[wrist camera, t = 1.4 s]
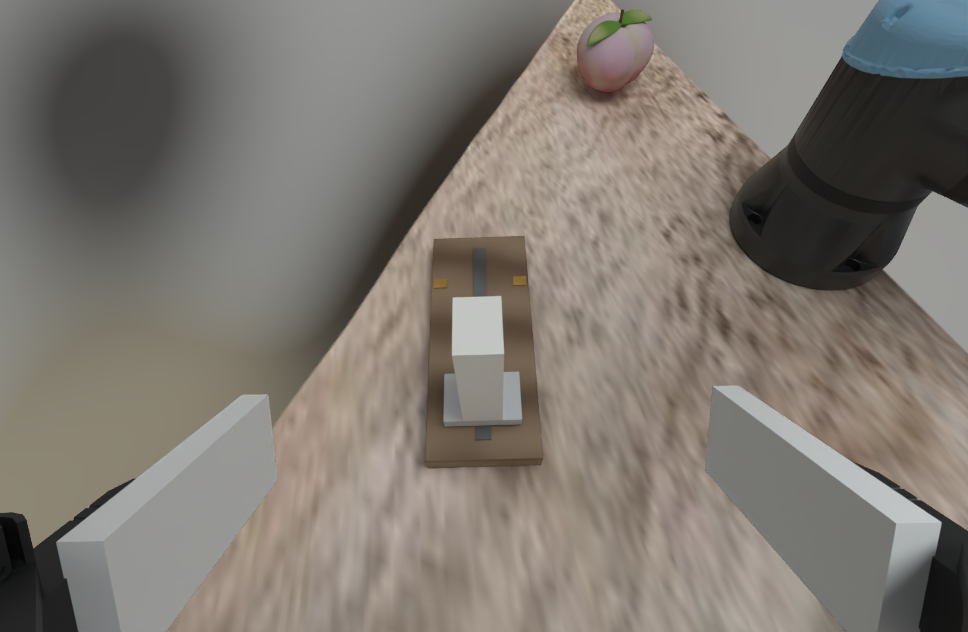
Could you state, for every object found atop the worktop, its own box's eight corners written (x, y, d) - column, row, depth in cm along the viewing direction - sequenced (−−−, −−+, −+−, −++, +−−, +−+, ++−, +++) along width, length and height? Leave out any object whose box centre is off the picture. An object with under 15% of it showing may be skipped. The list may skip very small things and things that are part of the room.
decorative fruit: (605, 61, 68) (620, -20, 59) (652, 88, 65) (676, 7, 56) (556, 90, 65) (564, 9, 56) (603, 120, 62) (620, 39, 53)
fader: (521, 424, 39) (530, 353, 29) (444, 426, 39) (425, 356, 29) (518, 377, 41) (525, 295, 31) (445, 379, 41) (428, 298, 31)
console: (541, 464, 40) (543, 457, 38) (428, 468, 40) (424, 460, 38) (523, 248, 51) (524, 234, 49) (435, 251, 51) (433, 237, 50)
